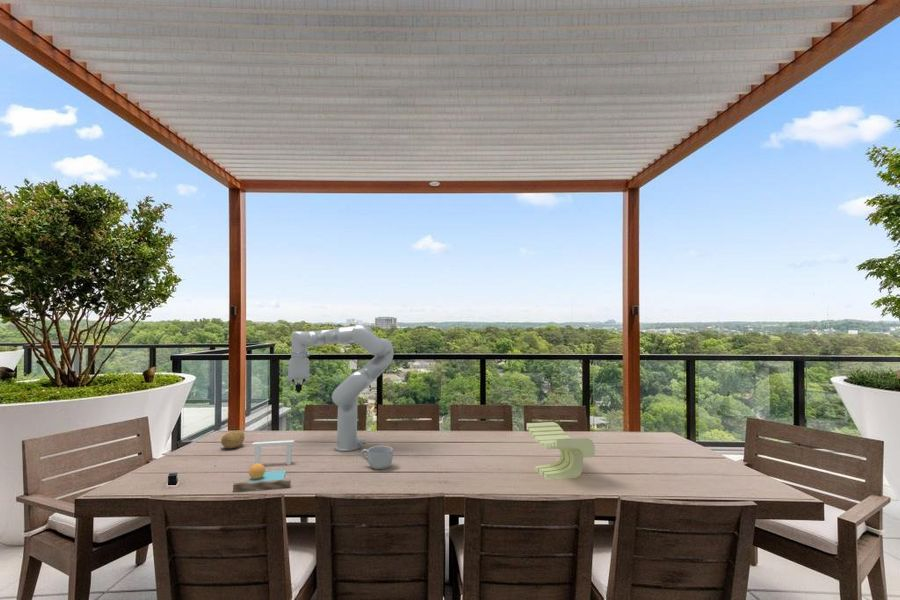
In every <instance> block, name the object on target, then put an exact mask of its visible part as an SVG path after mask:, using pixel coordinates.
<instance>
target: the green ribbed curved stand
mask: <svg viewBox="0 0 900 600" xmlns="http://www.w3.org/2000/svg"><path fill="white" fill-rule="evenodd" d="M526 431H527V432H528V434H530V435H531V438H533V439H534V440H533V441H534V442H536V443H537V444H539V445H540V446H543V447H544V448H545V449H547V450H551V449H553V450H554V449H555V450H557V449H558V450H559V452H560V458H559V459H558V461H556V462H552V463H549V464H543V465H542V464H541V465H534V471H535V472H537V473H538V474H539V475H541V476H543V477H544V478H545V479H546V480H547V481H549V480H550V481H552V480H561V479H563V480H564V479H573V478H575V479H576V478H579V476H581V474H582V472H583V465H584V464H583V461H584V458H587V459H588V458H595V456H596V455H595V452H596V451H595V450H596V449H595V447H596V446H595V443H594V441H593V440H592V439H591V438H588V437H580V438H572V437H570V436H569V435H567V433H566V432H565V431H564V429H563V428H562V427H561V425H560V424H558V422H555V421H554V422H553V421H547V422H546V421H544V422H526Z"/></svg>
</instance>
